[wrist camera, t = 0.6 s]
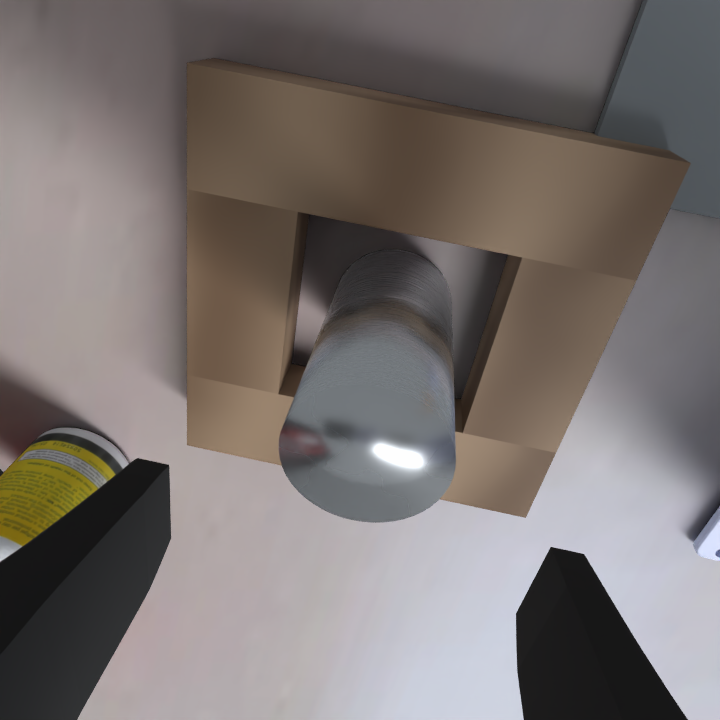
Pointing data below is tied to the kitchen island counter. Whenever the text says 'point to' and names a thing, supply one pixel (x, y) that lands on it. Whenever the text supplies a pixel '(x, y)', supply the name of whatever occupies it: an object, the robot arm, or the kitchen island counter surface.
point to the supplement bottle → (52, 482)
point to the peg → (377, 395)
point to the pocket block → (419, 218)
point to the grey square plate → (673, 94)
